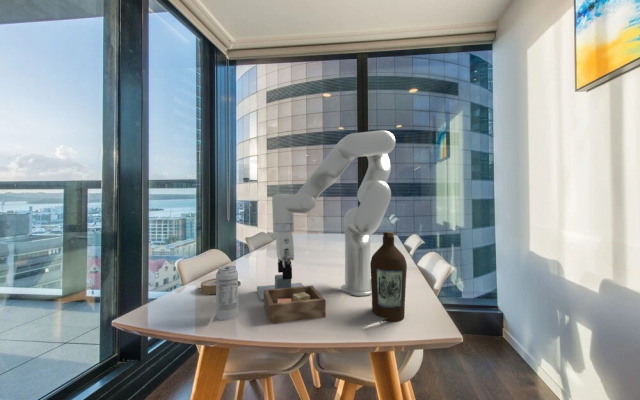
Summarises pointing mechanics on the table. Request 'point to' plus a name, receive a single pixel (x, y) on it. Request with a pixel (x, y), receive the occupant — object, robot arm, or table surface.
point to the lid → (277, 285)
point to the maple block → (301, 296)
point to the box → (293, 305)
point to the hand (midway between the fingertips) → (284, 275)
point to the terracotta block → (284, 300)
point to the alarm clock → (210, 286)
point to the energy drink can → (226, 293)
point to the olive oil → (388, 280)
